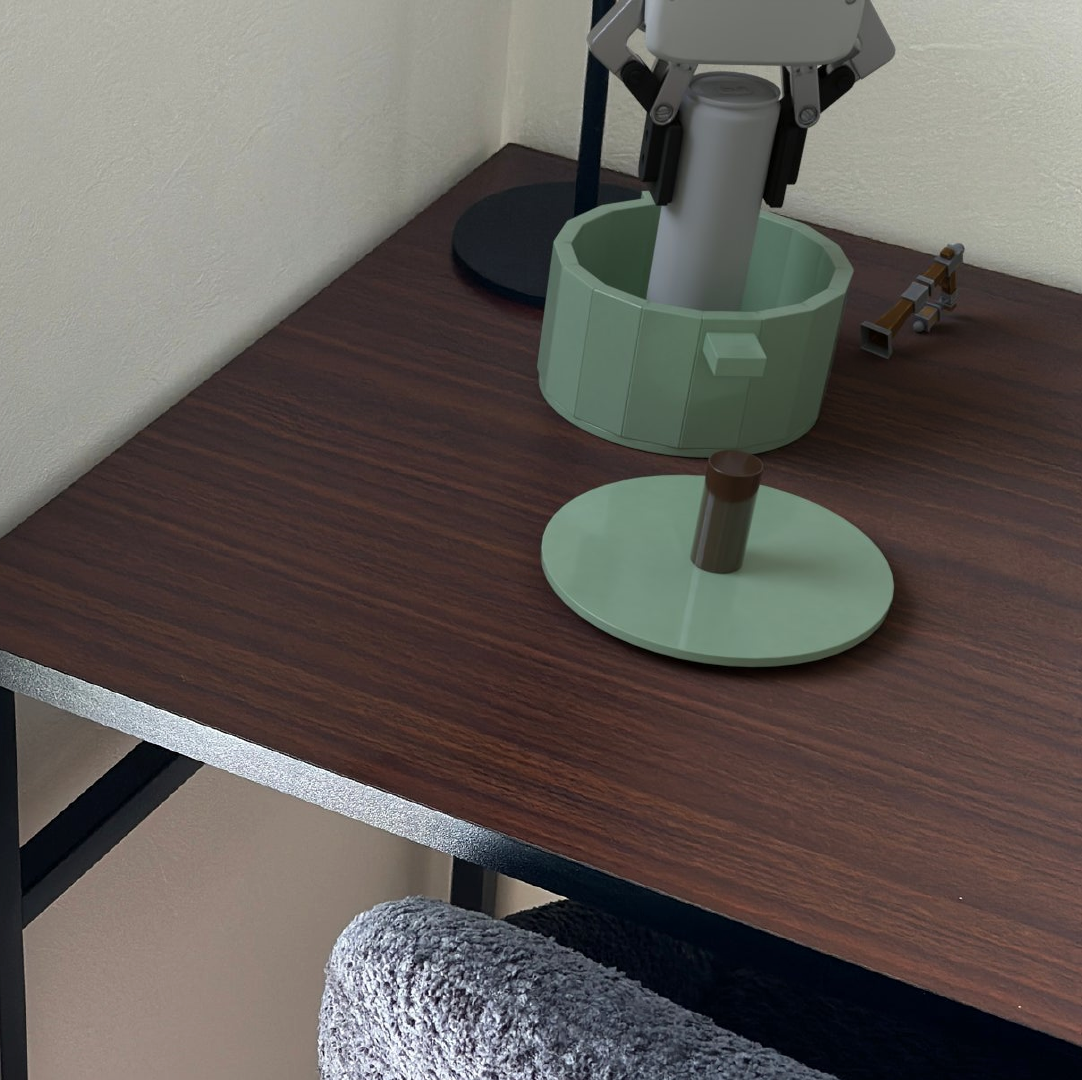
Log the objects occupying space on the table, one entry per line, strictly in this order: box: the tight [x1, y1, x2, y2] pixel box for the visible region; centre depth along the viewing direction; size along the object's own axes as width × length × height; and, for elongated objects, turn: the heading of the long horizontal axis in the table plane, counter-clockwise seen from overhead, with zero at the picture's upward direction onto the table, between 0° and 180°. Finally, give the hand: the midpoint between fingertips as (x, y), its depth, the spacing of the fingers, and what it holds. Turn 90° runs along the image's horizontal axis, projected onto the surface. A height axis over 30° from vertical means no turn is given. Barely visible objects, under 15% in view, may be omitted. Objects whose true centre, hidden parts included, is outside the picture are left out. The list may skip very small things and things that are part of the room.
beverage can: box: [646, 70, 782, 312], centre depth 105 cm, size 5×5×12 cm
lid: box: [539, 450, 895, 668], centre depth 95 cm, size 16×16×6 cm
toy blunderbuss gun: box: [859, 242, 966, 360], centre depth 117 cm, size 2×8×4 cm, turn 133°
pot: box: [536, 190, 855, 459], centre depth 109 cm, size 15×20×8 cm
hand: (713, 192), depth 105 cm, fingers closed on beverage can, 4 cm apart
